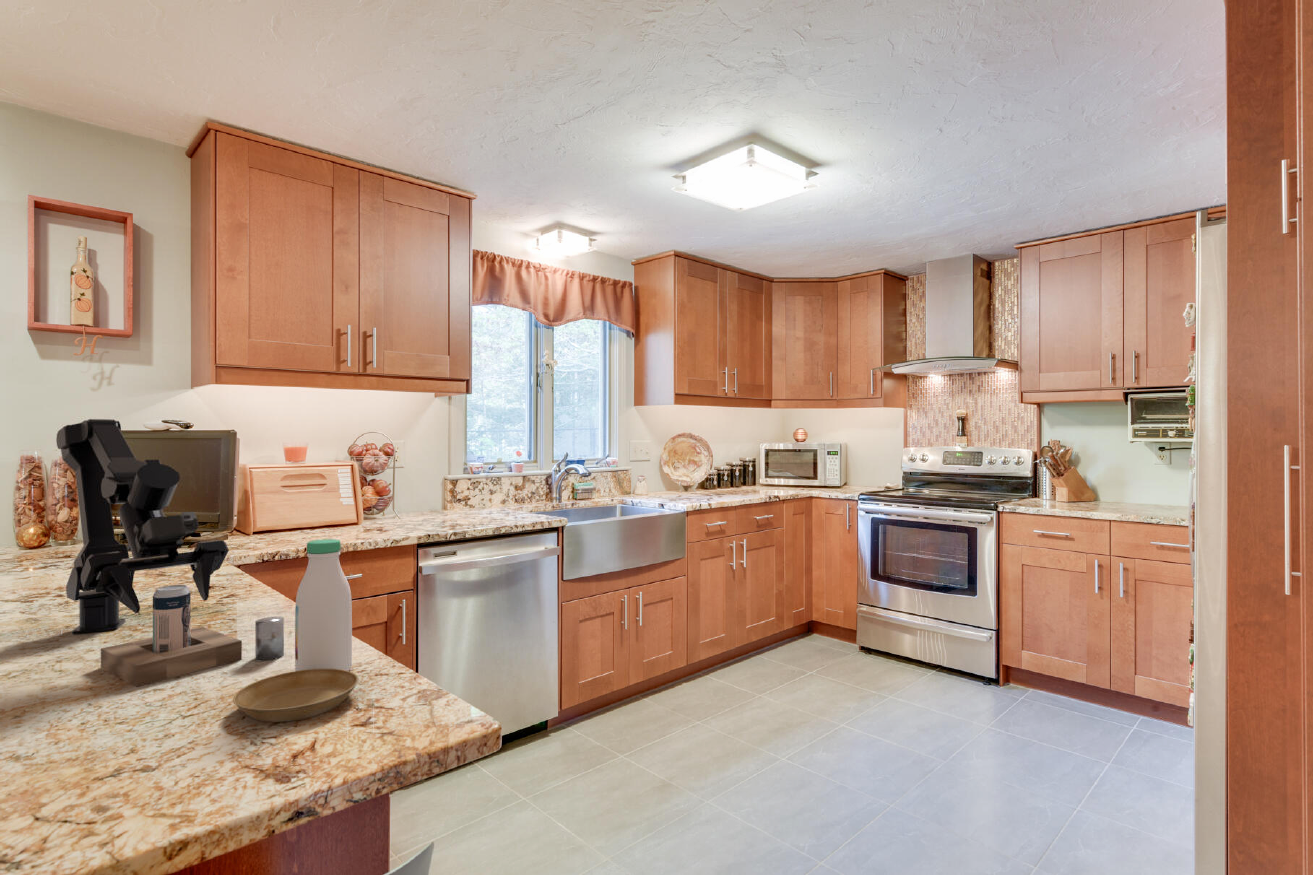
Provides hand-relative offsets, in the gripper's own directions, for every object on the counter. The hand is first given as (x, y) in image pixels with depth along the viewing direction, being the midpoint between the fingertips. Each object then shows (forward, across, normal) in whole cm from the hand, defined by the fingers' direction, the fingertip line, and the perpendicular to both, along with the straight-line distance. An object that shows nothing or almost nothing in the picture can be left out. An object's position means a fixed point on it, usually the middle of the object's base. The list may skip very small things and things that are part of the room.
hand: (173, 604), depth 104 cm
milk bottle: (+23, +12, -10) cm, 28 cm away
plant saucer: (+30, +3, -16) cm, 34 cm away
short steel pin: (+13, +10, 0) cm, 16 cm away
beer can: (+6, 0, +7) cm, 10 cm away
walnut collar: (+6, 0, +7) cm, 9 cm away
